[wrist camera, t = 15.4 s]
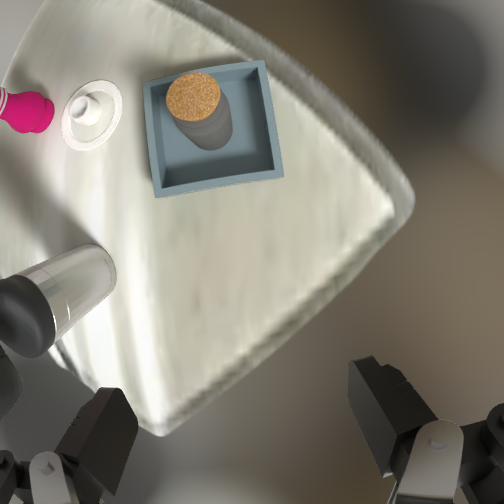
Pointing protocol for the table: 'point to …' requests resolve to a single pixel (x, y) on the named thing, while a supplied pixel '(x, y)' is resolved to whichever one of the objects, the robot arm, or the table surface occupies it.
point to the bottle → (200, 110)
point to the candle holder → (89, 113)
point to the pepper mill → (26, 111)
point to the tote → (228, 157)
